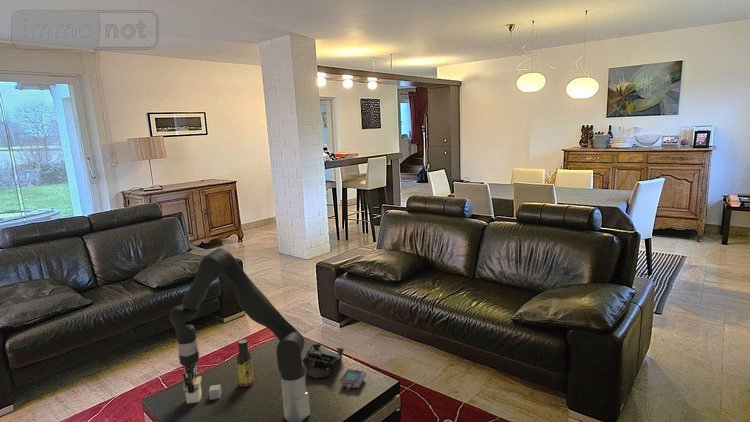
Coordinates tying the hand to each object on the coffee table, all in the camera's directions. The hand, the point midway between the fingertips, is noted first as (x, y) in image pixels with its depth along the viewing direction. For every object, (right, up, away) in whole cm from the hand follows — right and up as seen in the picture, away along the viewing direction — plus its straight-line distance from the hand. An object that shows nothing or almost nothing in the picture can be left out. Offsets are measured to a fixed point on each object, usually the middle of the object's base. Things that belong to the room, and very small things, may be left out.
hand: (193, 388), depth 177 cm
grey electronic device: (+67, -1, +12) cm, 68 cm away
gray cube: (+9, -4, +2) cm, 10 cm away
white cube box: (0, -5, +1) cm, 5 cm away
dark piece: (+51, 0, +21) cm, 56 cm away
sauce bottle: (+19, -3, +11) cm, 22 cm away
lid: (0, +1, 0) cm, 1 cm away
